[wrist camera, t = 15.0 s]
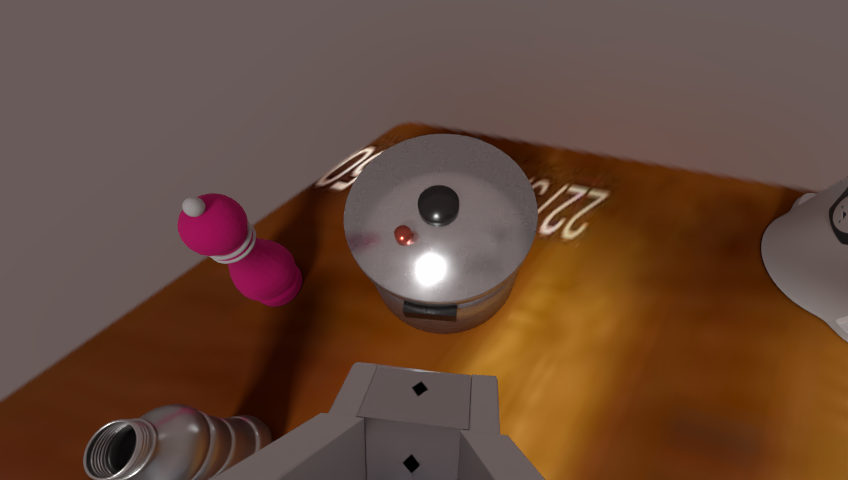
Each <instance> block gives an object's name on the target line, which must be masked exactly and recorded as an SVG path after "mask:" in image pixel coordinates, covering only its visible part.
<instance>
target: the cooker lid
mask: <svg viewBox="0 0 848 480" xmlns="http://www.w3.org/2000/svg"><path fill="white" fill-rule="evenodd" d="M537 218H538V212H537V202H536V198H535V194H534V191H533V188H532V186H531V184H530V182H529V180H528V178H527V176H526V175H525V173H524V172H523V171H522V169H521V168H520V167H519V166H518V164H517V163H516V162H515V161H514V160H512V159H511V158H510V157H509V156H508V155H507V154H505V153H504V152H503V151H501V150H500V149H498V148H496V147H494V146H493V145H491V144H488V143H486V142H484V141H482V140H478V139H475V138H472V137H468V136H463V135H455V134H432V135H424V136H420V137H415V138H412V139H409V140H406V141H403V142H401V143H398V144H396V145H394V146H392V147H390V148H389V149H387V150H385V151H384V152H382V153H381V154H379V155H378V156H377V157H375V158H374V159H373V160H372V161H371V162H370V163H369V164H368V165H367V166H366V167H365V168H364V169H363V171H362V172H361V173H360V174H359V176H358V177H357V179H356V180H355V182H354V183H353V186H352V188H351V190H350V192H349V195H348V198H347V201H346V205H345V212H344V228H345V236H346V239H347V242H348V246H349V248H350V250H351V252H352V254H353V256H354V258H355V260H356V262H357V263H358V265H359V266H360V268H361V269H362V271H363V272H364V273H365V275H366V276H367V277H368V278H369V279H370V280H371V281H372V282H373V283H374V284H376V285H377V286H378V287H379V288H381V289H382V290H384V291H385V292H387V293H389V294H390V295H392V296H394V297H396V298H399V299H401V300H403V301H407V302H410V303H414V304H418V305H424V306H439V307H444V306H454V305H460V304H464V303H468V302H471V301H474V300H477V299H480V298H482V297H484V296H486V295H488V294H490V293H492V292H494V291H495V290H497V289H498V288H499V287H501V286H502V285H504V284H505V283H506V282H507V281H508V280H509V279H510V278H511V277H512V276H513V275H514V274H515V273H516V272H517V271H518V269H519V268H520V267H521V266H522V264H523V262H524V260H525V259H526V257H527V255H528V253H529V250H530V248H531V245H532V243H533V240H534V237H535V232H536V228H537Z"/></svg>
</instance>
